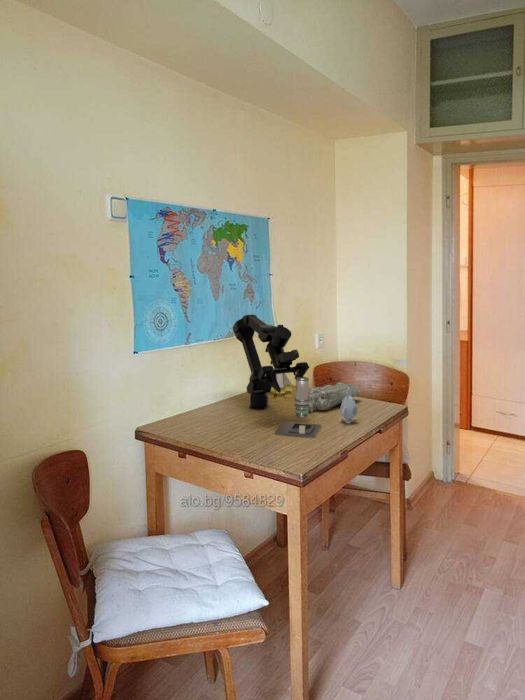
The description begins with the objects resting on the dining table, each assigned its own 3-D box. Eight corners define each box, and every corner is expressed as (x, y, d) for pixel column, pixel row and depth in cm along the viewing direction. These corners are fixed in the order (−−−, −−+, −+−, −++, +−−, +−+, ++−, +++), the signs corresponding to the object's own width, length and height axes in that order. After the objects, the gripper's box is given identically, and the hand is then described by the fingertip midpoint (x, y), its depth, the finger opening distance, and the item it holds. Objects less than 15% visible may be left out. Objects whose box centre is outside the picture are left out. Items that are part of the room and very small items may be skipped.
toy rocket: (290, 392, 241) (291, 326, 236) (294, 399, 230) (294, 330, 224) (264, 392, 241) (264, 327, 236) (266, 399, 229) (266, 330, 224)
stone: (369, 376, 220) (314, 397, 203) (369, 399, 223) (316, 422, 206) (347, 370, 229) (294, 389, 213) (348, 392, 232) (296, 413, 216)
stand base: (274, 434, 184) (274, 424, 183) (283, 423, 195) (283, 414, 195) (314, 438, 180) (314, 428, 179) (321, 427, 191) (321, 417, 191)
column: (292, 416, 183) (293, 379, 181) (296, 412, 188) (296, 376, 186) (307, 418, 181) (308, 380, 179) (310, 413, 186) (311, 377, 184)
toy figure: (349, 427, 191) (350, 395, 189) (334, 424, 194) (334, 392, 192) (362, 420, 199) (363, 389, 197) (347, 417, 203) (348, 387, 201)
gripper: (261, 344, 188) (275, 381, 180) (307, 340, 196) (322, 375, 188) (252, 361, 196) (265, 398, 189) (296, 357, 204) (310, 392, 197)
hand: (291, 390), depth 190 cm, fingers open, 9 cm apart
